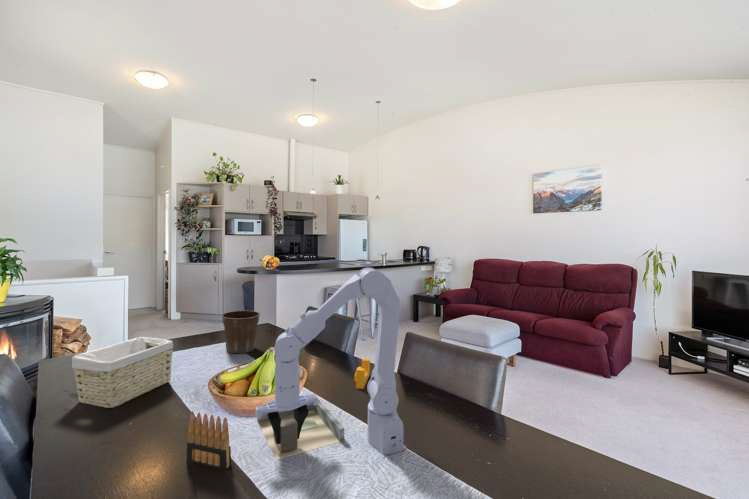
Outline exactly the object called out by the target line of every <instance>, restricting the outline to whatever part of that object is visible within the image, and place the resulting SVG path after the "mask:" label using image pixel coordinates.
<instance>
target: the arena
mask: <svg viewBox="0 0 749 499" xmlns="http://www.w3.org/2000/svg"><path fill="white" fill-rule="evenodd" d="M307 409H308V410H309V412H308V415H307V417H306V419H305V421H304V423H303V425H302V428H301V432H300V436H299V439H298V442H297V448H294V449H291V450H287V451H283V452H280V450H279V448H278V446H277V444H276V442H275V440H274V438H273V433H274V432H273V428H272V426H271V423H270V421H269V419H268V416H267V415H264V416H262V417H261V418H257V417H256V420H257V422H256V423H257V424H258V426H259V428H260V430H261V432H262V434H263V436H264V438H265V440H266V443H267V444H268V447H269V448H270V450H271V453H272V455H273V457H274V458H275V461H278V460H282V459H285V458H289V457H292V456H295V455H299V454H303V453H306V452H310V451H314V450H317V449H320V448H324V447H327V446H331V445H334V444H337V443H342V442H344V441H345V427H344V426H343V425H342V424H341V423H340V422H339V420H338V419H337V418H336V417H335V416H334V415H333V414H332V413H331V411H330V410H328V408H327V407H326V406H325V405H324V404H323V403H322V401H320V400H319V398H318V397H317V405H314V406H313V405H308V406H307ZM278 413H279V417H280V418H281V421H285V420H290V419H294V413H293V410H290V411H282V412H278Z"/></svg>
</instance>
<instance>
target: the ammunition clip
mask: <svg viewBox="0 0 749 499" xmlns="http://www.w3.org/2000/svg"><path fill="white" fill-rule="evenodd" d="M201 415H202V414H201V412H198V413H197V415H195V412H194V411H193V410H192V411H191V412H190V416H189V425H188V427H189V428H188V430H187V431H188V437H187V438H188V442H186V464H188V465H187V466H190V465H192V466H191V467H194V464H197V465H202V466H207V467H211V468H215V469H219V470H222V471H227V470H228V468H229V467H231V466H232V449H231V446H230V434H229V422H228V419H227V417H226V416H225V417H224V418H223V420H222V421H221V417H220V416H219V415H218V416H217V418H216V421H215V417H214V415H213V414H211V415H210V418H209V417H208V414H207V413H204V415H203V418H202V416H201Z"/></svg>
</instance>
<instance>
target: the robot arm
mask: <svg viewBox="0 0 749 499" xmlns="http://www.w3.org/2000/svg"><path fill="white" fill-rule="evenodd" d="M364 294H365V295H366V296H367V297H370V298H371V299H373V300H374V301H375V302H376V303H377V305H379V314H378V324H377V325H378V326H377V336H376V348H375V358H374V368H373V369H372V371H371V377H370V379H369V381H367V386H366V390H367V393H368V395H369V397H370V399H369V402H368V404H367V429H366V430H367V438H366V441H367V443H368V444H369V445H370V446H372V447H373V448H375V449H376V450H378V452H379V453H380V454H381V455H387V456H389V455H392V454H395V453H398V452H401V451H404V450H406V449H407V446H406V445H405V444H404V434H405V433H404V431H405V430H404V428H405V427H404V422H403V421H402V419H401V418H400V416H399V415H398V412H397V408H398V406H399V402H400V401H399V395H398V393H397V381H396V375H395V367H396V366H395V365H396V356H397V344H398V336H399V335H398V334H399V333H398V332H399V326H400V325H399V323H400V313H401V312H400V311H401V299H400V298H399V296H398V294H397V291H396V290H395V287H394V286H393V284H392V281H391V279H389V277H387V276H386V275H385V274H384V273H383V272H381V271H379V270H376V269H375V268H374V267H363V268H362V269H360V270H359V271H358V273H357V274H354V275H353V276H351V277H350V278H349V279H348V280H347V281H346V282H344V283H343V284H342V285H341V286H340V287H339V289H337V290H336V291H335V292H334V293H333V294H332V295H331V296H330V297H329V298H328V299H327V300H326V301H325V302H324V303H323V304H322V305H321V306H320V307H319V308H318V309H315V310H311V309H310V310H308V311H306V312H305V311H303V312H302V313H300V315H299V319H298V320H297V321H296V322H295V323H294V324H292V325H291V326H290V327H289V326H287V327H286V328H285V329H284V332H282V333H281V334H279V335H278V337H276V341H275V344H274V348H273V351H274V352H273V353H274V356H275V359H274V361H275V366H274V400H272V401H269V402H266V403H264V404H261V405H257V406H255V407H254V408H255V410H254V412H255V418H256V419H257V418H261V417H262V416H264V415H267V416H268V419H269V421H270V423H271V426H272V428H273V432H274V437H275V442H276V443H277V444H280V425H281V418H280V417H279V413H278V412H282V411H290V410H293V413H294V418H295V420H296V421H297V423H298V439H299V436H300V432H301V428H302V425H303V423H304V421H305V419H306V417H307V415H308V412H309V410H308V409H307V406H308V405H313V406H314V405H317V398H318V396H316V394H308V395H307V394H306V395H300V386H301V385H300V372H301V371H300V370H301V368H300V362H299V357H300V353H301V349H302V348H304V347H306V346H307V345H309V343H310V342H312V341H313V340H314V338H316V337H317V336H318V335H319V334H320V333H321V332H322V331H323V330H325V328H326V321H327V320H328V319H329V318H330V317H332V316H333V315H334V314H335V313H337V312H338V311H339V310H340V309H341V308H342V307H343V306H345V305H346V304H347V303H349V301H352V300H356V299H364Z"/></svg>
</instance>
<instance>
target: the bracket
mask: <svg viewBox="0 0 749 499" xmlns="http://www.w3.org/2000/svg"><path fill="white" fill-rule="evenodd" d="M273 438H274V440H275V437H274V433H273ZM297 442H298V423H297V421H296V420H295V418H294V419H290V420H285V421H281V425H280V444H277V443H276V444H277V446H278V448H279V450H280V452H283V451H287V450H291V449H294V448H297Z"/></svg>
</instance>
